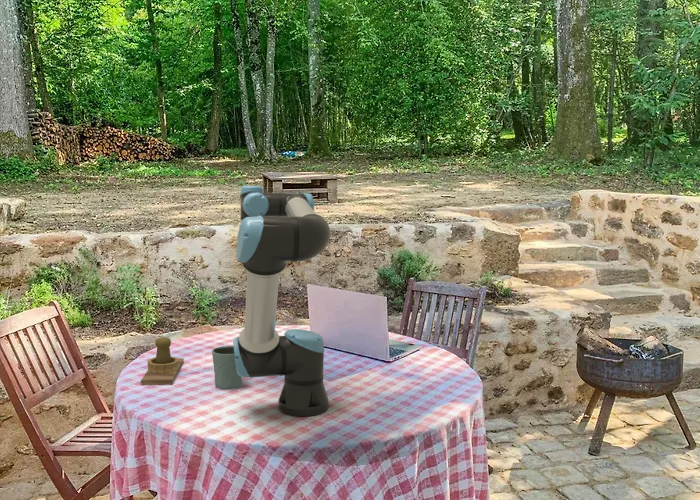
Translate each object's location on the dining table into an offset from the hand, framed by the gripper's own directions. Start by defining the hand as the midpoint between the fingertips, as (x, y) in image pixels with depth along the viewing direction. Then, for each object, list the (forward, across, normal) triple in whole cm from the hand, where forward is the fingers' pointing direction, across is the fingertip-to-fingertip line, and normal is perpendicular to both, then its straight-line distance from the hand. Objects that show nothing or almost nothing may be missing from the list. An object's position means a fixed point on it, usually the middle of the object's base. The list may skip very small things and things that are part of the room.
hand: (252, 296), depth 216 cm
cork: (+27, -10, -30) cm, 42 cm away
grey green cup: (+29, +4, -8) cm, 30 cm away
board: (+28, -10, -30) cm, 43 cm away
